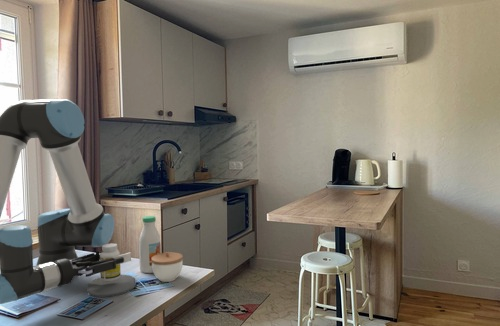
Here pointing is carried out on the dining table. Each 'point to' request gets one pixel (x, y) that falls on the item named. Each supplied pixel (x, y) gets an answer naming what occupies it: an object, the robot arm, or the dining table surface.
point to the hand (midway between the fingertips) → (124, 254)
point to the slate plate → (111, 286)
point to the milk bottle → (148, 244)
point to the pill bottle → (108, 253)
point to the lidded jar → (167, 266)
